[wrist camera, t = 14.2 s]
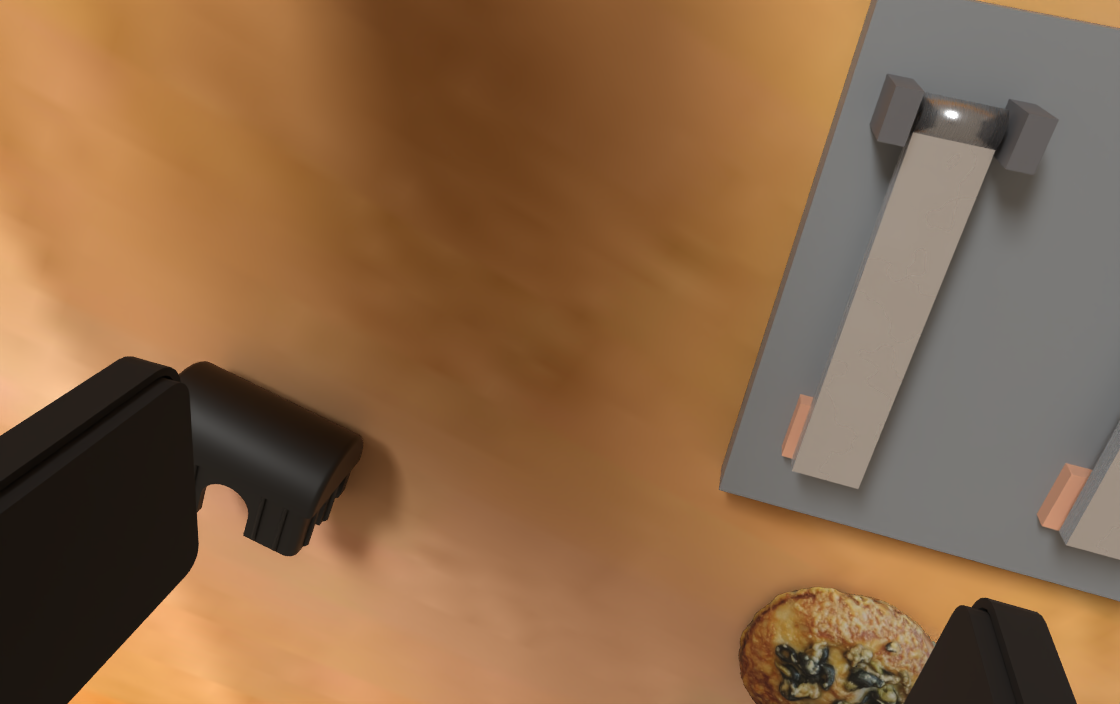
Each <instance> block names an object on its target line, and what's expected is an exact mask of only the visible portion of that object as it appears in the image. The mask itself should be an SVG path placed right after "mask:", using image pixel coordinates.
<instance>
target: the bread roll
mask: <svg viewBox="0 0 1120 704" xmlns="http://www.w3.org/2000/svg"><path fill="white" fill-rule="evenodd" d="M740 645H741V647H740V650H739V662H740V669H741V673H740V674H741V678H742V679H743V684H744V686H745V688H746V689H747V691H748V692H749V694H750V696H751V697H752V699H753V700H754V702H755V703H756V704H904V702H905V700H906V698H907V696H908V695H909V693H910V691H911V689H912V687H913V685H914V683H915V682H916V680H917V678H918V676H919V674H920V672H921V671H922V669H923V667H924V665H925V663H926V661H927V660H928V658H929V656H930V654H931V652H932V650H933V648H934V647H935V645H936V644H935V642H931V641H930V637H929V636H928V635H927V634H926V633H925V632H924V630H922V628H921V627H920V625H918V624H917V623H916V622H915V621H913V620H912V619H911V618H910V617H908V616H907V615H906V614H904V613H902V612H901V611H899V610H898V609H897V608H896V607H895V606H893V605H890V604H889V603H887V602H885V601H882V600H878V599H875V598H871V597H867V596H863V595H855V594H845V593H842V592H839V591H837V590H835V589H834V588H823V587H811V588H806V589H800V590H796V591H792V592H786V593H783V594H780V595H777V596H776V597H775V599H774V600H773V601H772V602H771V603H769V604H768V605H767V606H766V607H764V608H763V609H761V610H760V611H759V612H757V613H756V614H755V615H754V619H753V620H752V622H751V623H750V624H749V625H748V626H747V628H746V629H745V630H744V631H743V633H742V636H741V638H740Z"/></svg>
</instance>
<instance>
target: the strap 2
mask: <svg viewBox="0 0 1120 704" xmlns="http://www.w3.org/2000/svg"><path fill="white" fill-rule="evenodd" d="M1059 533H1060V535H1061V537H1062V538H1063V540H1064V542H1065V544H1066V545H1068V546H1071V547H1075V548H1079V549H1082V550H1086V551H1090V552H1093V553H1097V554H1101V555H1104V556H1108V557H1112V558H1115V559H1119V560H1120V421H1119V423H1118V425H1117V427H1116V429H1115V430H1114V432H1113V434H1112V436H1111V438H1110V440H1109V441H1108V443H1107V445H1106V447H1105V449H1104V450H1103V452H1102V454H1101V456H1100V458H1099V460H1098V461H1097V463H1096V465H1095V467H1094V469H1093V470H1092V472H1091V474H1090V476H1089V478H1088V480H1087V481H1086V483H1085V485H1084V487H1083V489H1082V490H1081V492H1080V494H1079V496H1078V498H1077V500H1076V501H1075V503H1074V505H1073V507H1072V509H1071V510H1070V512H1069V514H1068V516H1067V518H1066V520H1065V521H1064V523H1063V525H1062V527H1061V529H1060V530H1059Z"/></svg>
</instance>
